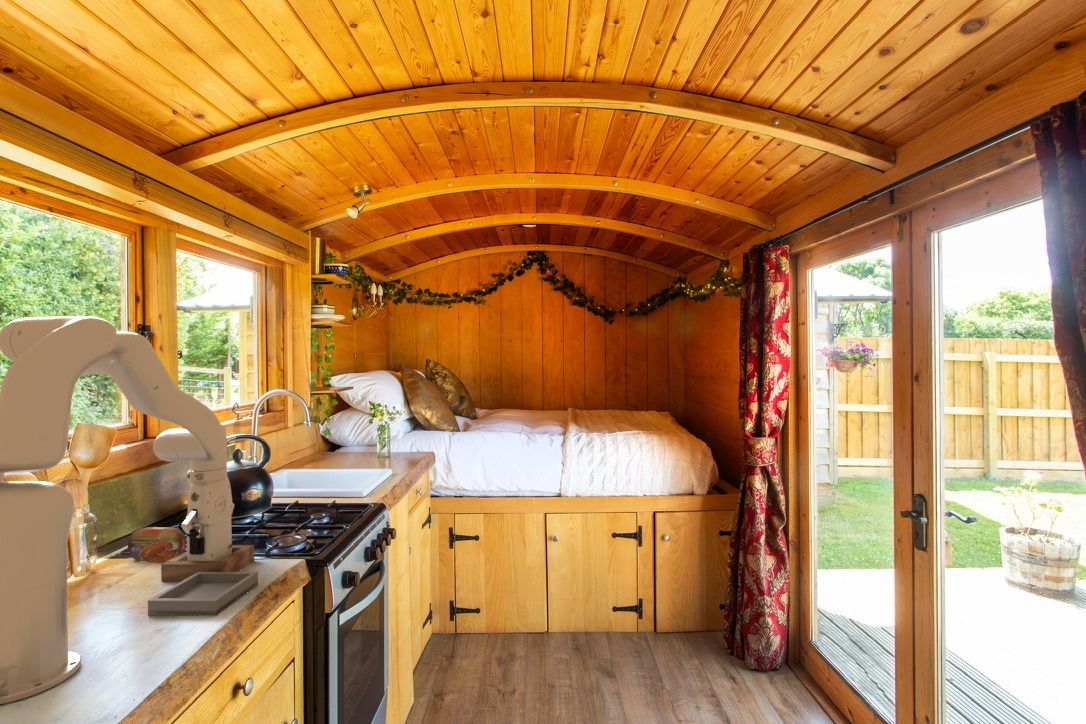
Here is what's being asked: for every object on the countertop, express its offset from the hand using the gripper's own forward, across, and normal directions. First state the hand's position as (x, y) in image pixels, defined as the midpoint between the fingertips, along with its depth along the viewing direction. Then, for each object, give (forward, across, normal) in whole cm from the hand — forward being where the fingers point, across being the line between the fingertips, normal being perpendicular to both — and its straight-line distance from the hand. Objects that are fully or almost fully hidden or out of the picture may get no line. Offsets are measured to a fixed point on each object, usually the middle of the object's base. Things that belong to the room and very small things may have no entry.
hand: (210, 546), depth 124 cm
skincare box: (+6, 0, 0) cm, 6 cm away
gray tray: (+6, -15, -10) cm, 19 cm away
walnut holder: (+6, 0, 0) cm, 6 cm away
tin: (+6, +7, +19) cm, 21 cm away
